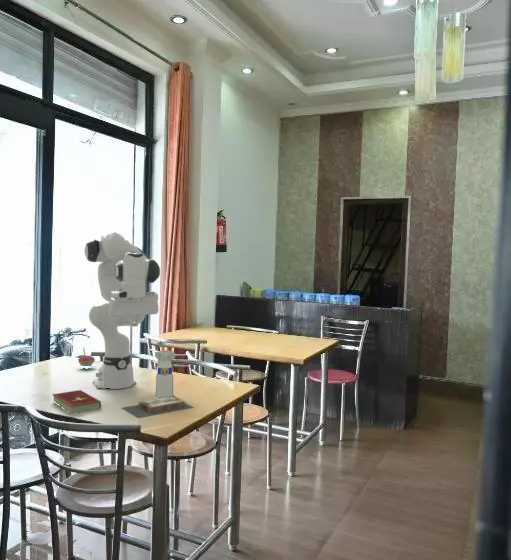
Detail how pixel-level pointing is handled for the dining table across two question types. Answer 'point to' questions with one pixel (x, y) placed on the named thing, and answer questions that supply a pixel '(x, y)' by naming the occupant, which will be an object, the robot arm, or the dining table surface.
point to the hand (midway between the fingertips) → (133, 326)
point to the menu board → (161, 404)
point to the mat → (142, 413)
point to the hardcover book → (76, 401)
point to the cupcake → (86, 360)
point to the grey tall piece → (164, 373)
